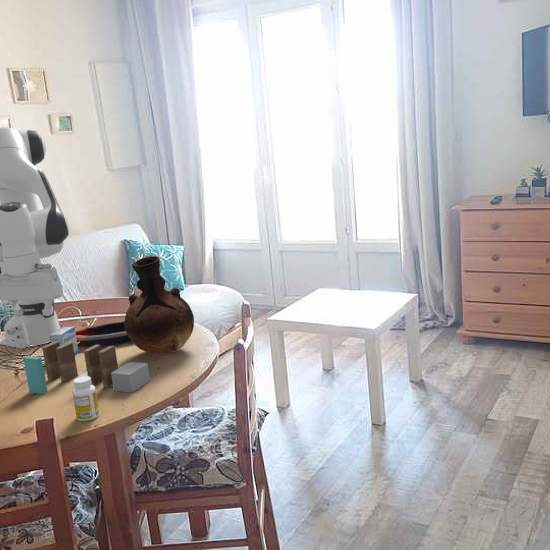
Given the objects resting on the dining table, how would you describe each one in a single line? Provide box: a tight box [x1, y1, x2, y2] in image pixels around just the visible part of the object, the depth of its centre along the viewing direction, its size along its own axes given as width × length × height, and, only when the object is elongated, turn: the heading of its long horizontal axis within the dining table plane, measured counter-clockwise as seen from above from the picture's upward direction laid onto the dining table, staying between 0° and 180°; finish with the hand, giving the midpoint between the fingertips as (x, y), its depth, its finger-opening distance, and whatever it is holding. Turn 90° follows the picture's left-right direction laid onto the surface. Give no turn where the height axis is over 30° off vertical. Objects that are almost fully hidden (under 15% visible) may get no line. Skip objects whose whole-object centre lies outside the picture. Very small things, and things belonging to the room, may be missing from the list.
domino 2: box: [41, 341, 61, 382], centre depth 181 cm, size 2×5×10 cm, turn 155°
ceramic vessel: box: [123, 255, 195, 355], centre depth 193 cm, size 21×18×30 cm
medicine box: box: [49, 326, 79, 355], centre depth 199 cm, size 8×4×9 cm, turn 168°
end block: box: [111, 361, 151, 393], centre depth 170 cm, size 6×8×5 cm
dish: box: [75, 320, 132, 348], centre depth 212 cm, size 16×31×5 cm, turn 100°
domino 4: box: [83, 345, 103, 387], centre depth 175 cm, size 2×5×10 cm, turn 155°
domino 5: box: [98, 345, 119, 388], centre depth 173 cm, size 2×5×10 cm, turn 156°
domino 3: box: [56, 342, 79, 383], centre depth 179 cm, size 2×5×10 cm, turn 156°
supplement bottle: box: [72, 375, 100, 422], centre depth 153 cm, size 5×5×10 cm
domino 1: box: [22, 355, 48, 395], centre depth 171 cm, size 2×5×10 cm, turn 66°
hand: (33, 315), depth 169 cm, fingers open, 8 cm apart
